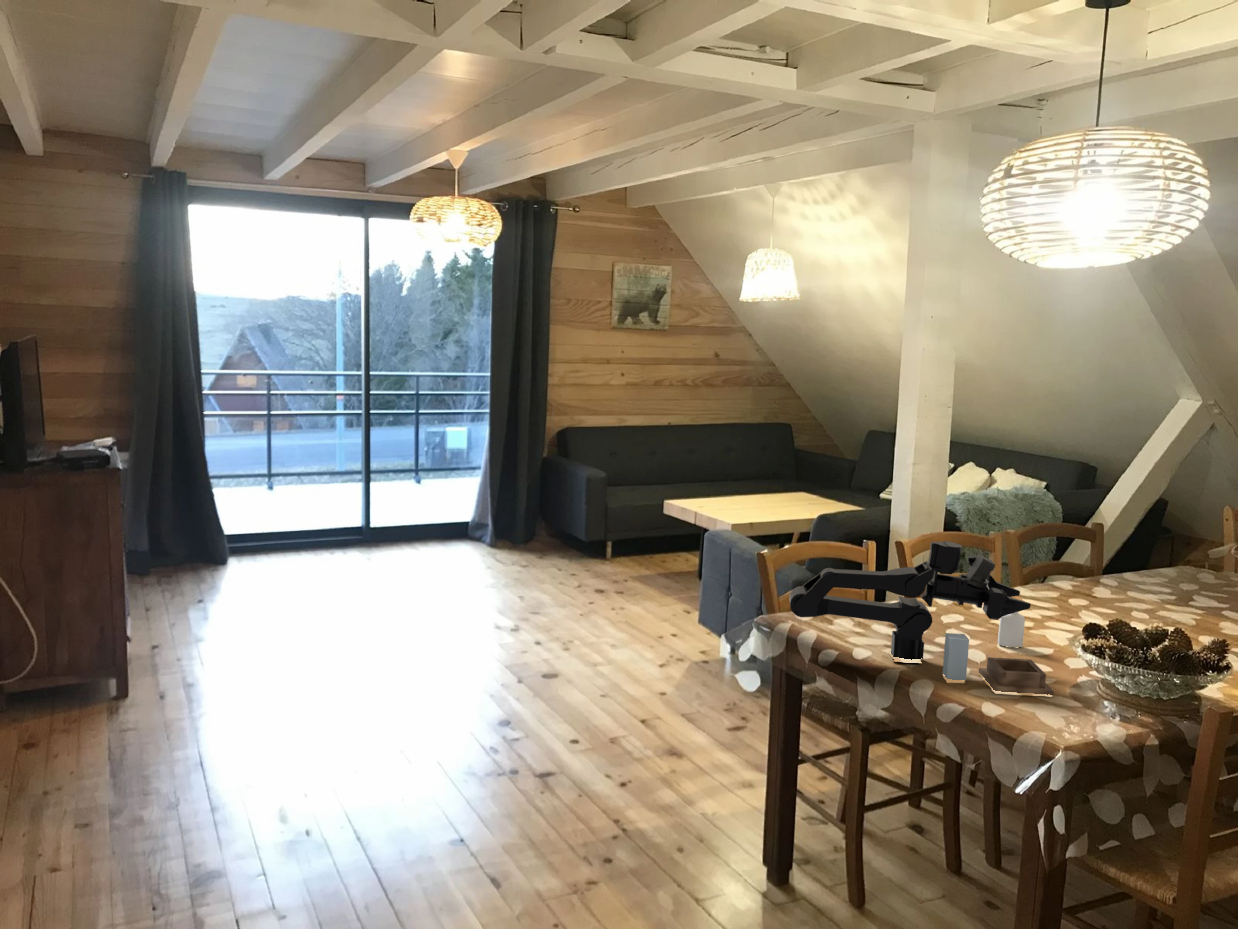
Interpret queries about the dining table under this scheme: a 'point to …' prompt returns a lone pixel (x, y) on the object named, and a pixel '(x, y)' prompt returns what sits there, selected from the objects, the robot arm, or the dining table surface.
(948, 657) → the slate peg
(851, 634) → the dining table surface
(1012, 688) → the walnut holder
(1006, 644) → the eye dropper bottle
